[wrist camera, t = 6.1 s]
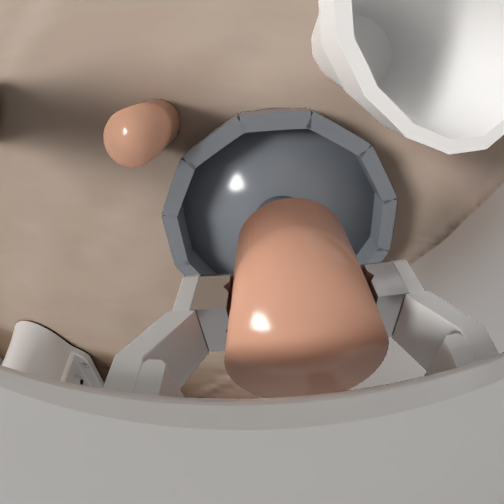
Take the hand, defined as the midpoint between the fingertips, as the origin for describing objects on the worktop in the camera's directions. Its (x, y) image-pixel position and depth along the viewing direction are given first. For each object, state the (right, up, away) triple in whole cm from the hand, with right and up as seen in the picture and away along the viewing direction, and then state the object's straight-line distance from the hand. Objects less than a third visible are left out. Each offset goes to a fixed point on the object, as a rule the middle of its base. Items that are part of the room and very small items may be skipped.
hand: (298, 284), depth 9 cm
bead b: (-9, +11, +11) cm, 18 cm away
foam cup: (+6, +16, +8) cm, 19 cm away
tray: (+1, +4, +16) cm, 16 cm away
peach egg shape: (0, +1, +2) cm, 2 cm away
